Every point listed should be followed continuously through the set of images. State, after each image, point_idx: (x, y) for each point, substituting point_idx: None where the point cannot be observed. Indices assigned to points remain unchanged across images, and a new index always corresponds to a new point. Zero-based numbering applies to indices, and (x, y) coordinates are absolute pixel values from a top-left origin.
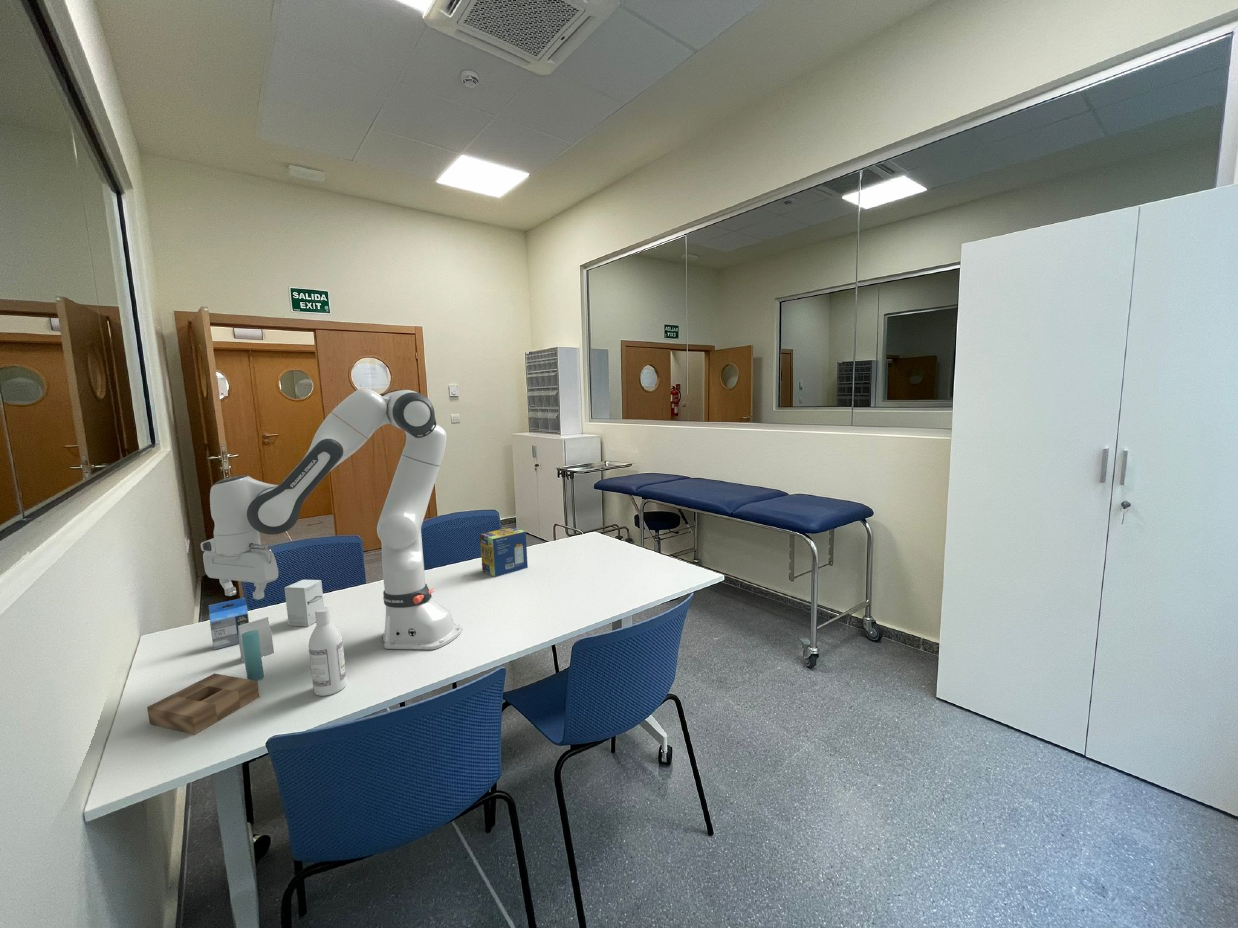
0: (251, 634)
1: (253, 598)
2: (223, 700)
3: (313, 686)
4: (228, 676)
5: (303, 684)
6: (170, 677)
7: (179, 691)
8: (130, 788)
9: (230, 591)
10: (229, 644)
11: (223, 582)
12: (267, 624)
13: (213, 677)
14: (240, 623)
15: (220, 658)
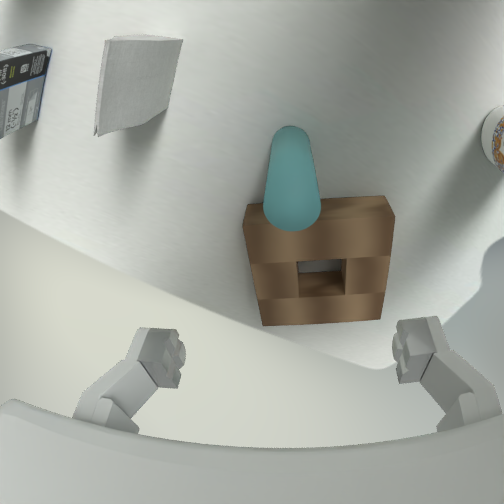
0: (310, 211)
1: (392, 348)
2: (386, 279)
3: (495, 165)
4: None
5: (439, 132)
6: (100, 214)
7: (257, 288)
8: None
9: (176, 369)
10: (40, 92)
11: (138, 428)
12: (128, 45)
13: (263, 237)
14: (11, 76)
15: (88, 127)
